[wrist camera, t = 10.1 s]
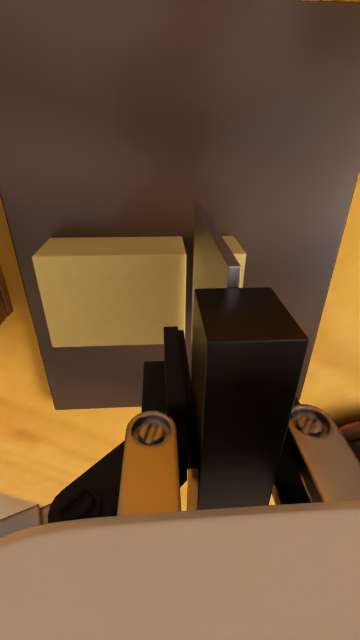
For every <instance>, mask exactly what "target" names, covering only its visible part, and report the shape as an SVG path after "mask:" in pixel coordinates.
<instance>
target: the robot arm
mask: <svg viewBox="0 0 360 640" xmlns="http://www.w3.org/2000/svg"><path fill="white" fill-rule="evenodd" d="M191 428H192V394H191V378H190V371H189V364H188V357H187V350H186V343H185V336H184V330H178V326H172V327H164V361H144V370H143V391H142V412H141V413H140V414H137V415H136V416H135V417H133V418H132V419H131V421H130V422H129V423H128V425H127V429H126V435H125V441H123V442H122V443H121V444H120V445H118V446H117V447H116V448H115V449H113V450H112V451H111V452H110V453H108V454H107V455H106V456H105V457H103V458H102V459H101V460H100V461H98V462H97V463H96V464H95V465H93V466H92V467H91V468H90V469H88V470H87V471H86V472H85V473H83V474H82V475H81V476H80V477H78V478H77V479H76V480H75V481H73V482H72V483H71V484H70V485H68V486H67V487H66V488H65V489H63V490H62V491H61V492H60V493H59V494H58V495H57V496H56V497H55V499H54V500H53V502H52V503H51V504H48V505H46V506H44V507H41V508H40V506H39V504H38V505H36V506H33V507H31V508H28V509H25V510H23V511H20V512H18V513H15V514H13V515H10V516H8V517H6V518H3V519H1V520H0V640H360V446H358V445H356V444H354V443H352V442H350V441H348V440H346V439H345V438H344V436H343V435H342V433H341V431H340V430H339V428H338V427H337V425H336V423H335V422H334V420H333V419H332V418H331V417H330V415H329V414H327V413H326V412H325V411H323V410H321V409H319V408H317V407H315V406H311V405H307V404H300V403H299V401H298V399H297V397H295V401H294V405H293V409H292V413H291V417H290V421H289V425H288V429H287V433H286V437H285V441H284V445H283V449H282V453H281V457H280V461H279V465H278V469H277V473H276V477H275V481H274V485H273V489H272V496H273V499H274V502H275V505H268V506H252V507H236V508H221V509H206V510H191V511H181V497H180V487H181V486H182V485H183V484H184V483H185V482H186V481H187V469H190V454H191Z"/></svg>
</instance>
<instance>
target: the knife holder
mask: <svg viewBox="0 0 360 640" xmlns="http://www.w3.org/2000/svg"><path fill="white" fill-rule="evenodd" d="M12 312H13V309H12V306H11V302H10V299H9V295H8V292H7V288H6V285H5V281H4V278H3V274H2V271H1V267H0V325H1V323H2V322H3V321H4V320H5V318H6V317H7V316H9V315H10V314H11V313H12Z"/></svg>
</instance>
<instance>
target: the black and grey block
mask: <svg viewBox="0 0 360 640" xmlns="http://www.w3.org/2000/svg"><path fill="white" fill-rule="evenodd" d="M240 275H241V265H240V264H239V262H238V261H237V259H236V257H235V256H234V254H233V253H232V251H231V250H230V248H229V247H228V245H227V243H226V242H225V240H224V239H223V237H222V236H221V234H220V232H219V231H218V229H217V228H216V226H215V225H214V223H213V221H212V220H211V218H210V217H209V215H208V214H207V212H206V210H205V209H204V207H203V206H202V205H195V225H194V257H193V289H192V322H191V354H190V378H191V394H192V428H191V454H190V469H188V488H187V511H191V510H206V509H221V508H236V507H252V506H268V505H269V501H270V497H271V493H272V489H273V485H274V481H275V477H276V473H277V469H278V465H279V461H280V457H281V453H282V449H283V445H284V441H285V437H286V433H287V429H288V425H289V421H290V417H291V413H292V409H293V405H294V401H295V397H296V392H297V388H298V384H299V380H300V376H301V372H302V368H303V364H304V360H305V356H306V352H307V348H308V344H309V337H308V336H307V335H306V333H305V332H304V331H303V329H302V328H301V327H300V325H299V324H298V323H297V321H296V320H295V318H294V317H293V316H292V314H291V313H290V312H289V310H288V309H287V308H286V306H285V305H284V304H283V302H282V301H281V300H280V298H279V297H278V296H277V294H276V293H275V292H274V290H273V289H272V288H271V287H255V288H239V284H240Z"/></svg>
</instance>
